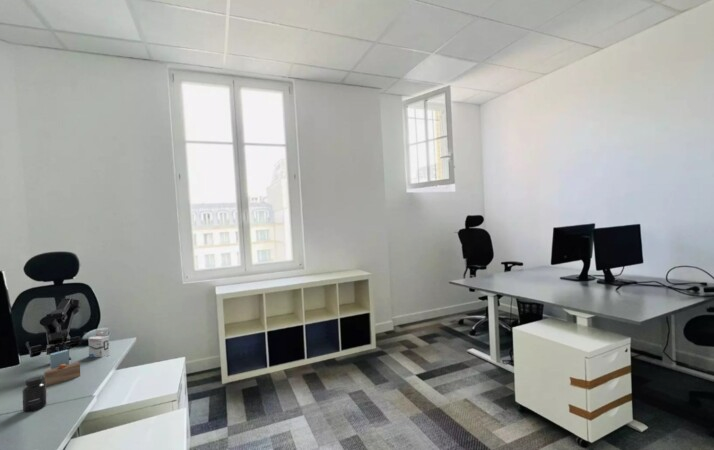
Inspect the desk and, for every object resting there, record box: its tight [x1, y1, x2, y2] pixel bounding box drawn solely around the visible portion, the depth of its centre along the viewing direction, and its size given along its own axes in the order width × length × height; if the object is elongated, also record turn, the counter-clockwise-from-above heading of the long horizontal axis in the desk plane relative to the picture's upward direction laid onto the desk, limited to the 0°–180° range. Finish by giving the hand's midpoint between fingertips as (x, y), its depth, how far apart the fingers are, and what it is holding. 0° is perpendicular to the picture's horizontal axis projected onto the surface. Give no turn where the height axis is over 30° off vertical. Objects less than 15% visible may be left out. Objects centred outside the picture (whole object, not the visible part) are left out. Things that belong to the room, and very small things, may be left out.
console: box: [43, 361, 81, 387], centre depth 155 cm, size 13×12×8 cm
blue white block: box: [49, 350, 70, 369], centre depth 157 cm, size 4×6×11 cm, turn 140°
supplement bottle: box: [22, 375, 47, 413], centre depth 130 cm, size 7×7×12 cm
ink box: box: [87, 329, 111, 358], centre depth 180 cm, size 8×5×15 cm, turn 84°
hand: (58, 361), depth 159 cm, fingers closed
